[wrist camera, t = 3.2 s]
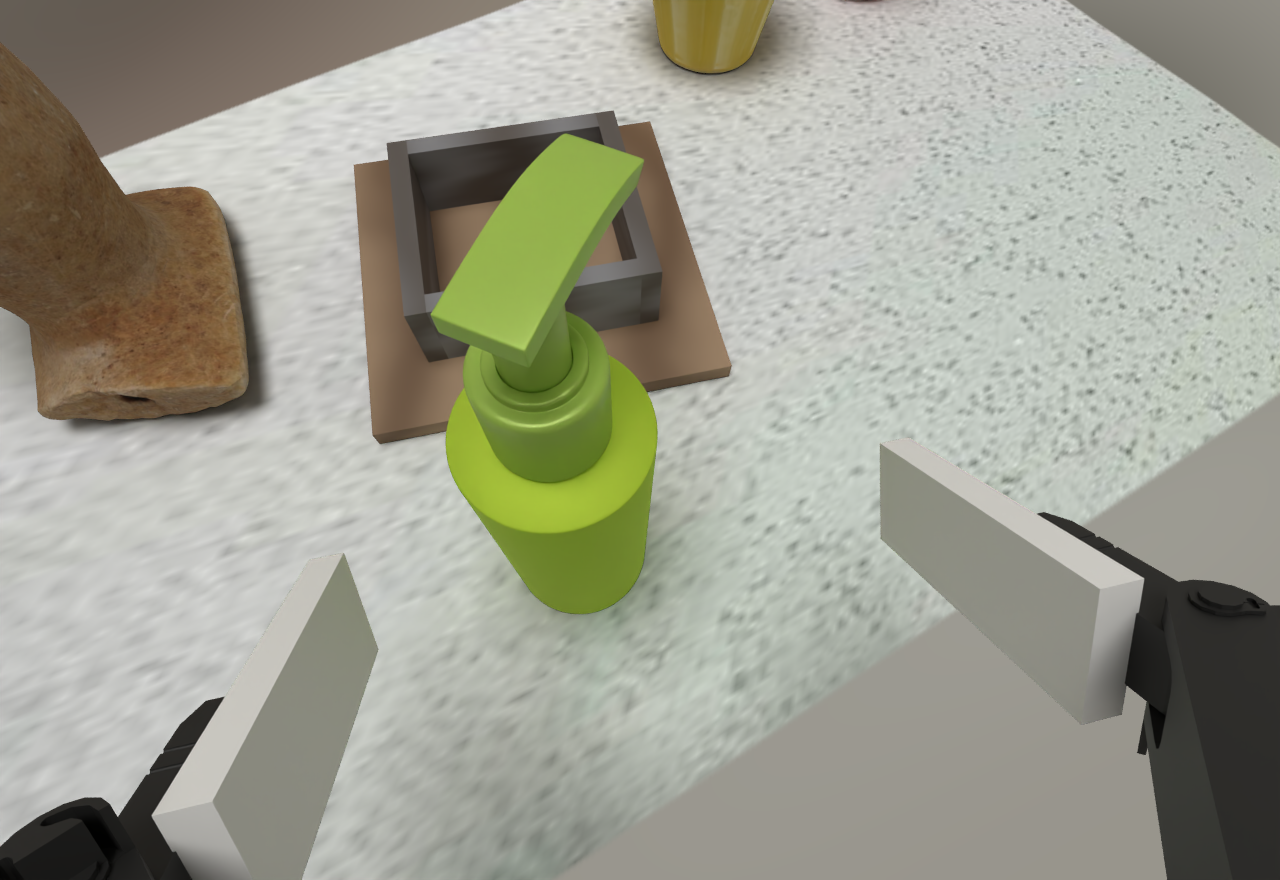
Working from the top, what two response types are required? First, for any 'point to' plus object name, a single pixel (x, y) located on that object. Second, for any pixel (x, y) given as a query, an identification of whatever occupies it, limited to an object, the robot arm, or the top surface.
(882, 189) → the top surface
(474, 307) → the soap dispenser
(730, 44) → the plant pot
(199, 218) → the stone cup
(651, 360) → the dispenser stand
